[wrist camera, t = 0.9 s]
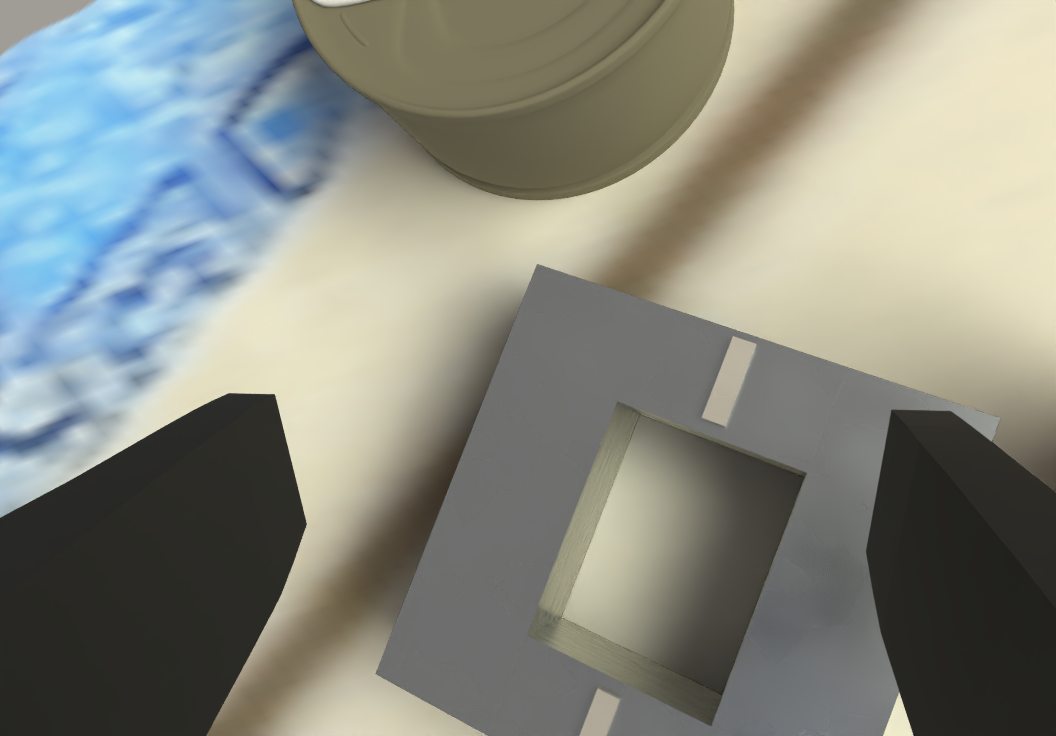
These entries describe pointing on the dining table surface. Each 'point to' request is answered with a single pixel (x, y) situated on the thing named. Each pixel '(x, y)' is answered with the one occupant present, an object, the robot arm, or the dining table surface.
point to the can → (530, 81)
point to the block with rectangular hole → (578, 500)
